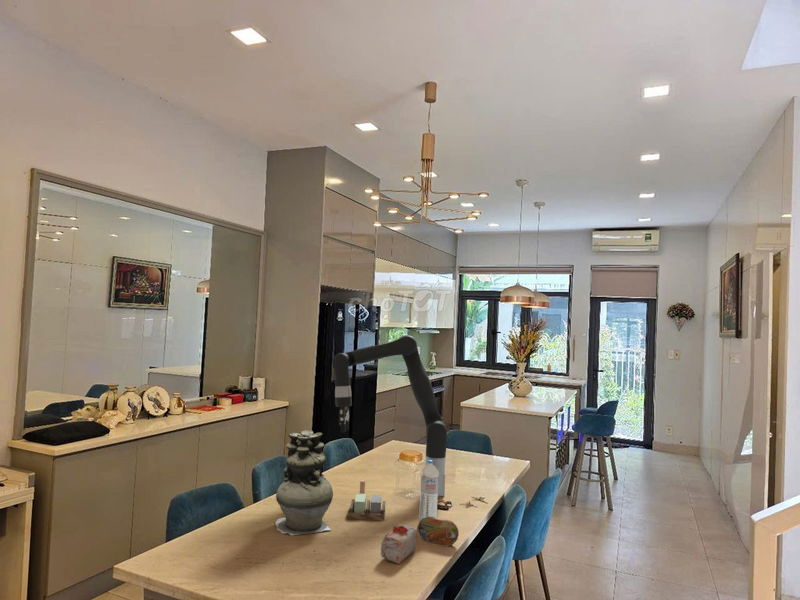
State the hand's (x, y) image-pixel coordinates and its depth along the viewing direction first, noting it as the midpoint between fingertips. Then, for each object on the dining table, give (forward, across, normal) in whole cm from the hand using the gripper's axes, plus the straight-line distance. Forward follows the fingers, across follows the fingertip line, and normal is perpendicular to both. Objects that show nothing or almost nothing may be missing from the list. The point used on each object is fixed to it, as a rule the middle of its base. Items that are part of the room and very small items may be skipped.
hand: (344, 431), depth 246 cm
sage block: (+29, -22, -9) cm, 38 cm away
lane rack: (+30, -26, -13) cm, 42 cm away
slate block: (+30, -25, -16) cm, 42 cm away
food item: (+34, -64, -28) cm, 77 cm away
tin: (+35, -50, -41) cm, 73 cm away
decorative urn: (+29, -44, +10) cm, 53 cm away
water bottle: (+33, -35, -37) cm, 61 cm away
